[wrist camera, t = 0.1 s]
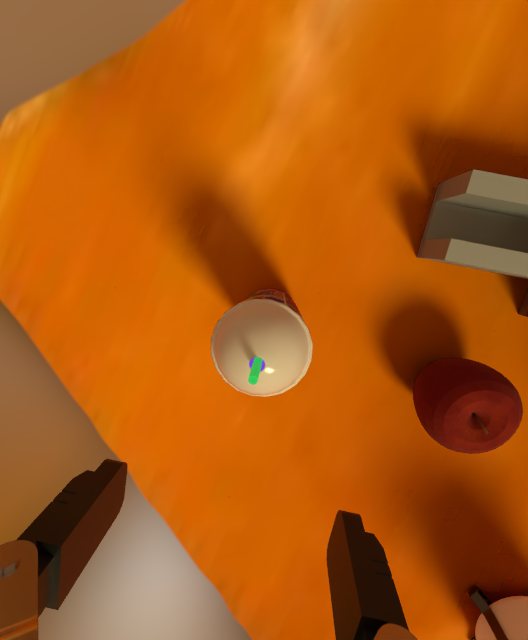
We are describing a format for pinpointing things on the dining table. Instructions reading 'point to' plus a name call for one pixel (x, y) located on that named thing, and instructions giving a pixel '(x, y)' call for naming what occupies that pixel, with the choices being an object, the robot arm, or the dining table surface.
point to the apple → (466, 405)
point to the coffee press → (501, 617)
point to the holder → (479, 223)
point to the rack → (524, 306)
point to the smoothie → (262, 344)
